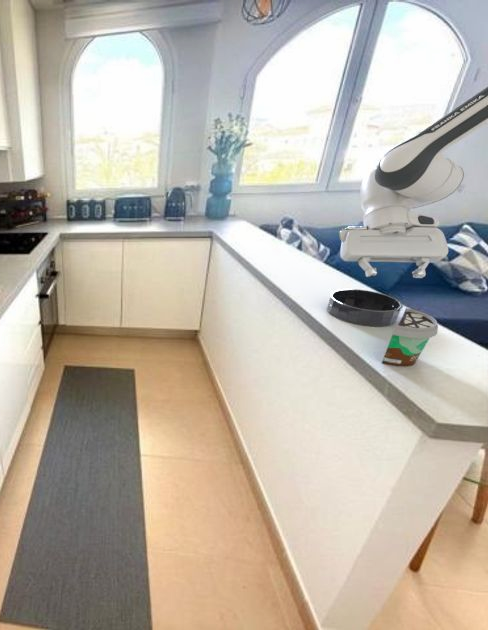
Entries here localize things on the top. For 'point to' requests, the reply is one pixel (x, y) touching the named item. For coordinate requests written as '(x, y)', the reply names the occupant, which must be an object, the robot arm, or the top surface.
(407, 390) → the top surface
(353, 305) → the pan
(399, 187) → the robot arm
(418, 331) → the food container
